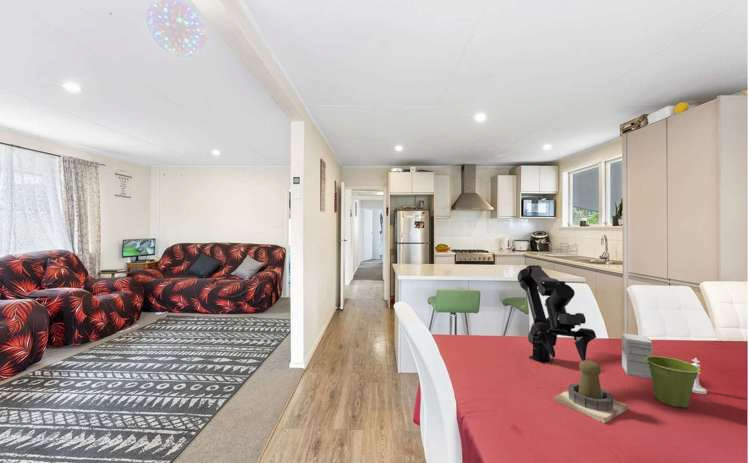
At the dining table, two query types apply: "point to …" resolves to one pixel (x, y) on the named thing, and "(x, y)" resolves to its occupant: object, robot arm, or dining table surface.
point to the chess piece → (696, 386)
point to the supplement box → (636, 355)
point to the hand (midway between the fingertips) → (568, 359)
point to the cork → (590, 380)
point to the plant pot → (672, 380)
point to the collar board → (592, 412)
